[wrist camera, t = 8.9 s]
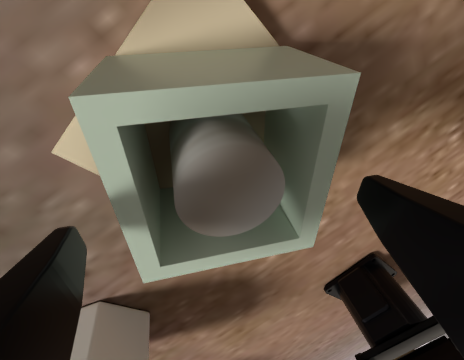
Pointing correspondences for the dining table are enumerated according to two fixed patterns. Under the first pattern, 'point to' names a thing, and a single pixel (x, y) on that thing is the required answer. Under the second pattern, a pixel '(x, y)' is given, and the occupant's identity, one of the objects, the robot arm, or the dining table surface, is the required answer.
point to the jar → (111, 333)
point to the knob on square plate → (202, 124)
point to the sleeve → (206, 105)
